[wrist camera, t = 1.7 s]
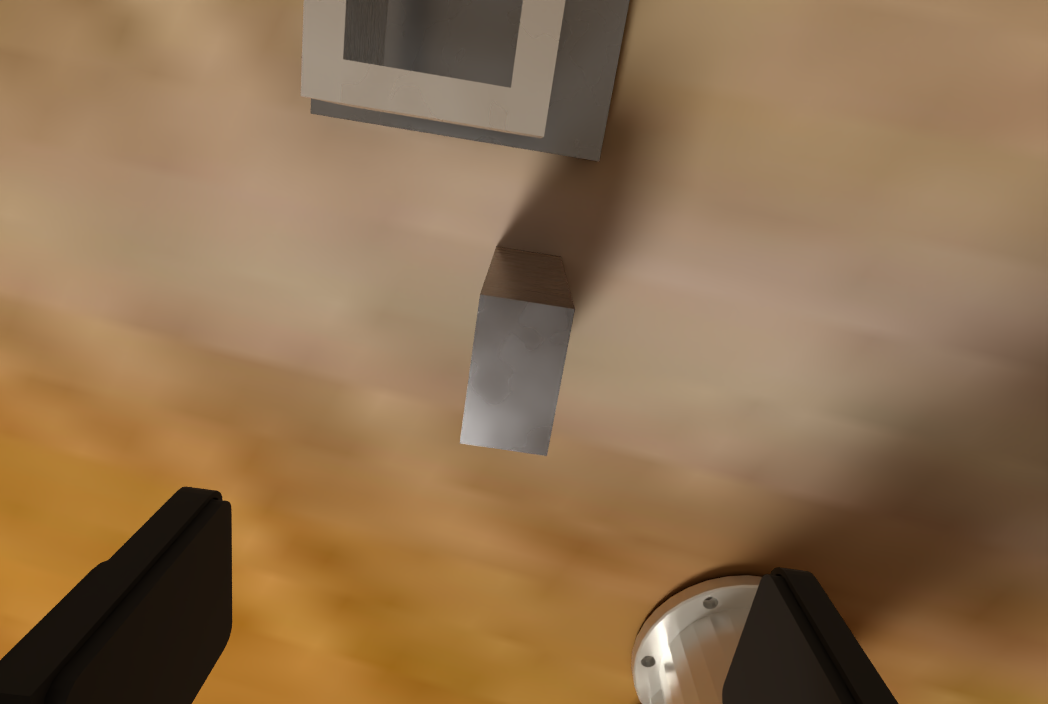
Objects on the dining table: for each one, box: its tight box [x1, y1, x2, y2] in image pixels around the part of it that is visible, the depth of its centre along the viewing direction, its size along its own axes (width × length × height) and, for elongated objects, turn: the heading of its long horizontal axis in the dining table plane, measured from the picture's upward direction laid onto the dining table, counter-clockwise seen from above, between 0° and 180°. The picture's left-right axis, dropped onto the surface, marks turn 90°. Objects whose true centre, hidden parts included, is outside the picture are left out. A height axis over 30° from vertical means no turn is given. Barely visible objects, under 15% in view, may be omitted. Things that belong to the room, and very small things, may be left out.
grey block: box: [460, 246, 575, 456], centre depth 26 cm, size 6×3×10 cm, turn 171°
